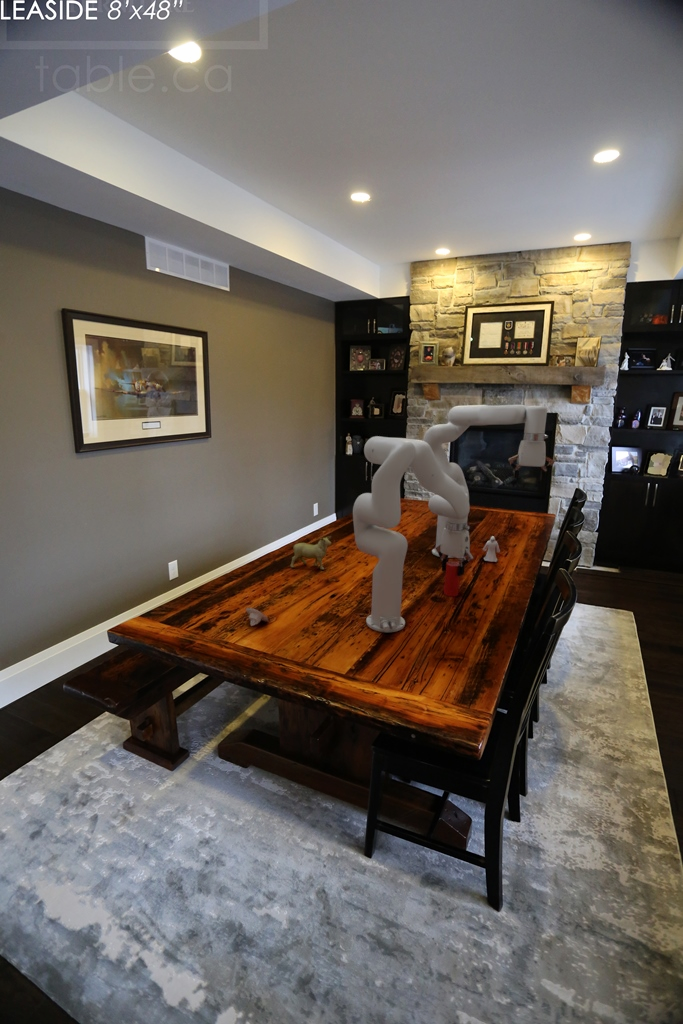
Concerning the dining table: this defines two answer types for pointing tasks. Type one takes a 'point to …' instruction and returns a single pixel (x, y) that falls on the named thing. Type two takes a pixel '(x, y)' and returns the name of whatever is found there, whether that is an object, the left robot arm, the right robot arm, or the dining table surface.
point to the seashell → (255, 616)
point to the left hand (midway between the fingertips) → (452, 572)
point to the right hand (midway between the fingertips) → (528, 480)
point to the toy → (311, 551)
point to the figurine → (491, 550)
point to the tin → (451, 579)
